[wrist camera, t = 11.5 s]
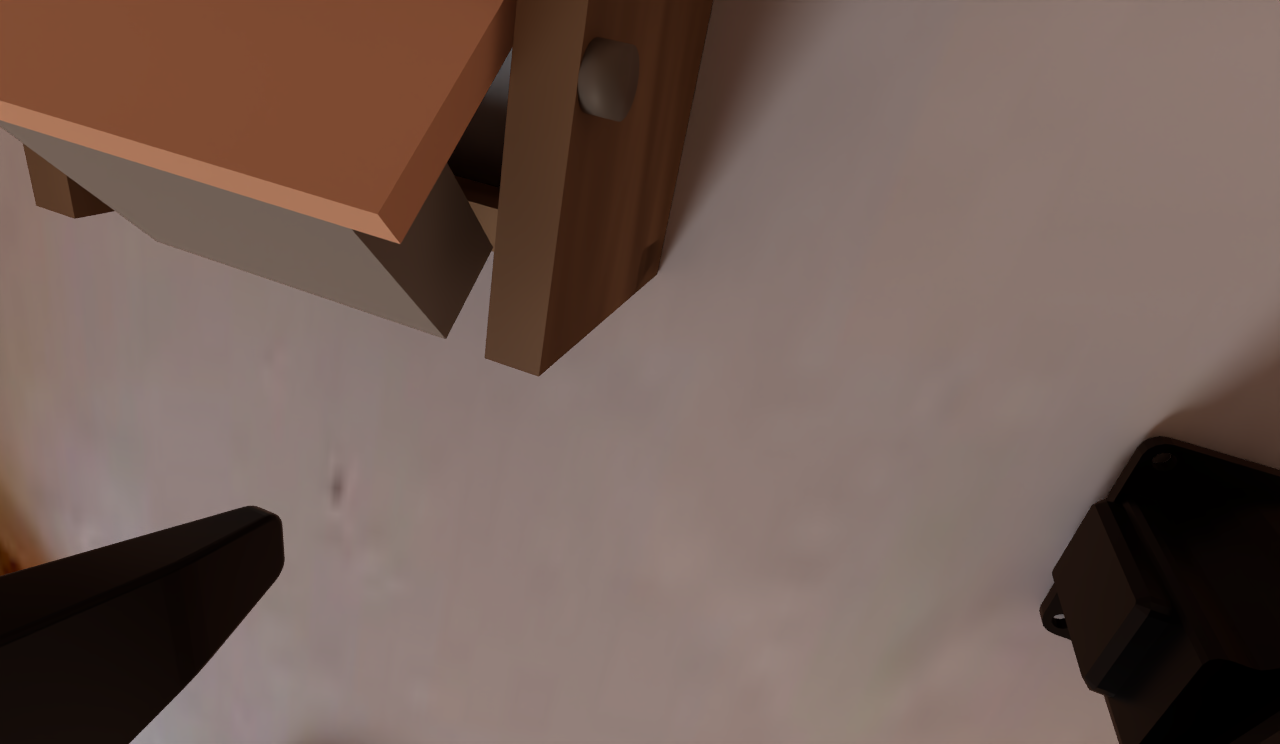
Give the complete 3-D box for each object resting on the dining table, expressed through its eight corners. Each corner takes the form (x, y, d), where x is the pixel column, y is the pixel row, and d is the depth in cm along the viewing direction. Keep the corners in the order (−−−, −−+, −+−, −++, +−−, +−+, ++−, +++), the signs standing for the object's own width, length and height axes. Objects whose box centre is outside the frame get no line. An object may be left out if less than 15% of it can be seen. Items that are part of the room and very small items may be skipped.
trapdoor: (666, -13, 18) (649, -249, 13) (486, 355, 15) (377, 214, 10) (345, -76, 20) (232, -300, 16) (123, 232, 17) (-110, 67, 12)
